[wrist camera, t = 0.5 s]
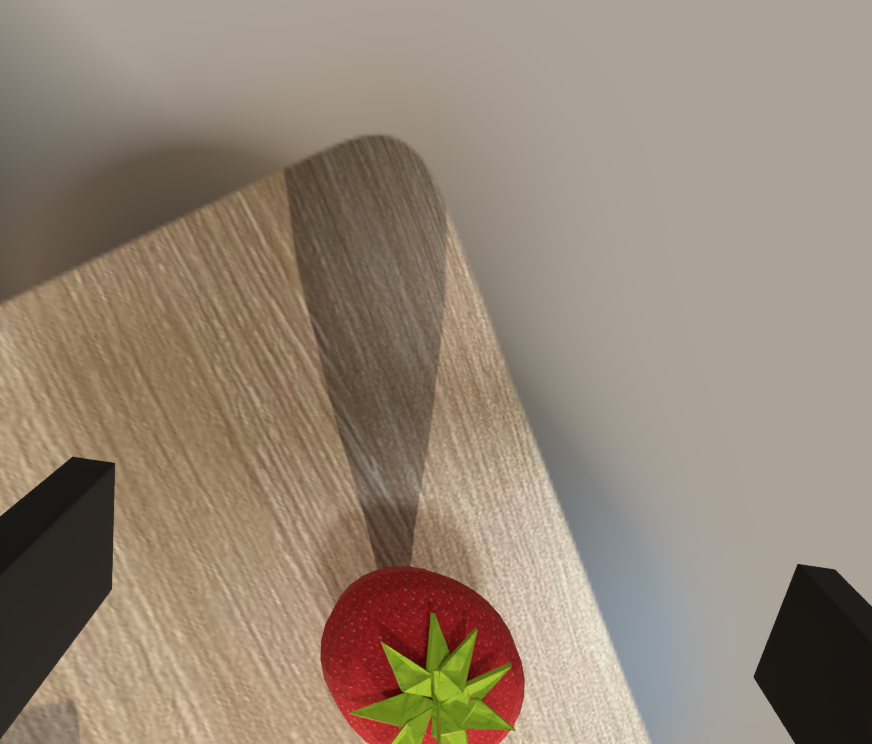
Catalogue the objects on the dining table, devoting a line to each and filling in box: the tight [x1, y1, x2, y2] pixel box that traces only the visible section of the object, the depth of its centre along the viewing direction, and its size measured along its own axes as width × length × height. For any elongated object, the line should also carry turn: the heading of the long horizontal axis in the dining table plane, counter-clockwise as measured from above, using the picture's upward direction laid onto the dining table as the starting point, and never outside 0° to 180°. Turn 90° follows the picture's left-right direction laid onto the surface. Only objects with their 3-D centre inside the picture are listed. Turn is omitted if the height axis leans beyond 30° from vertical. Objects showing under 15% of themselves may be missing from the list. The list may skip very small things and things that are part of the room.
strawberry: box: [321, 566, 525, 744], centre depth 23 cm, size 6×8×10 cm
